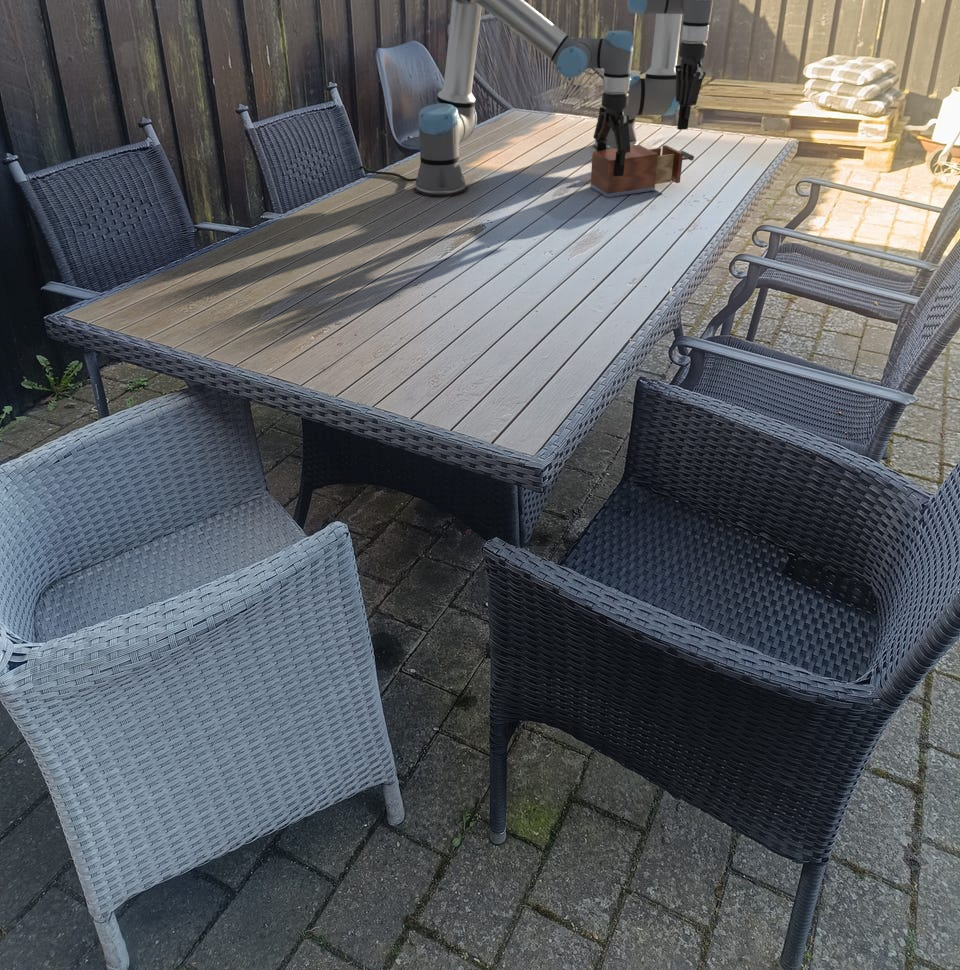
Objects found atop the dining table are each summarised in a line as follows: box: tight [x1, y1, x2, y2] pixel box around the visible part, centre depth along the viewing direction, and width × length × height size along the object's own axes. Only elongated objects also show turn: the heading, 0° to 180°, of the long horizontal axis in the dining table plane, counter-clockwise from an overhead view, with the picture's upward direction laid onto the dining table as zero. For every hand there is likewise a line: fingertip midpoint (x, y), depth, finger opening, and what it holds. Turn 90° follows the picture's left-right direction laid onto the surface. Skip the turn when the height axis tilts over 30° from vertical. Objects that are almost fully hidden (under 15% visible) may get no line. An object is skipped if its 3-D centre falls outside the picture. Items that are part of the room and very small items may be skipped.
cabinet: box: [590, 144, 658, 198], centre depth 256 cm, size 16×11×11 cm
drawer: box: [649, 144, 695, 185], centre depth 259 cm, size 20×10×9 cm, turn 110°
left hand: (609, 170), depth 254 cm, fingers closed on cabinet, 11 cm apart
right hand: (682, 128), depth 255 cm, fingers closed
